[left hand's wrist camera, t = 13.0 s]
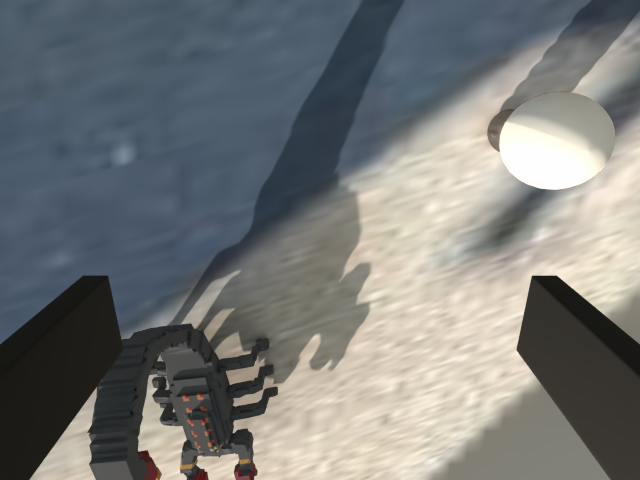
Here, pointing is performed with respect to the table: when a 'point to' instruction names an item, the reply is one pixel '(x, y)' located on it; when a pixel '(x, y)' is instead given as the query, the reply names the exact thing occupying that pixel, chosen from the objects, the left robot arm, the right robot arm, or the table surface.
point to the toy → (174, 404)
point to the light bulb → (554, 139)
